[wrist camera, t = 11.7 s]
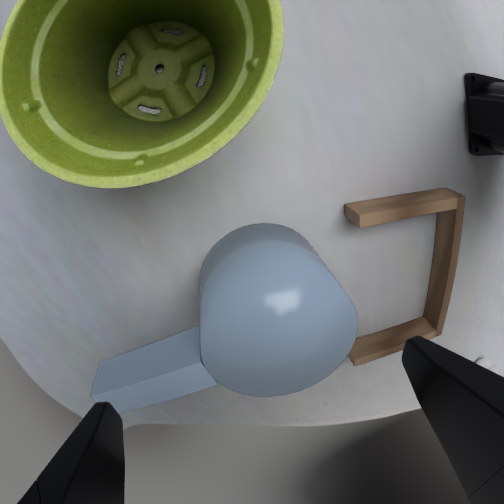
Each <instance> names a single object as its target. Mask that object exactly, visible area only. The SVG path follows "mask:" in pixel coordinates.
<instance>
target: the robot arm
mask: <svg viewBox="0 0 504 504" xmlns="http://www.w3.org/2000/svg"><path fill="white" fill-rule="evenodd" d="M465 79H466V89H467V100H468V116H469V150H470V153H471V154H472V155H475V156H483V155H504V80H502V79H498V78H494V77H489V76H485V75H480V74H476V73H467V74H466V76H465ZM471 79H472V81H471ZM402 363H403V366H404V368H405V371H406V373H407V375H408V378H409V380H410V382H411V385H412V387H413V390H414V392H415V394H416V397H417V399H418V401H419V404H420V405H421V407H422V409H423V411H424V413H425V415H426V417H427V418H428V420H429V422H430V424H431V426H432V428H433V430H434V432H435V434H436V435H437V437H438V439H439V441H440V443H441V445H442V447H443V449H444V451H445V453H446V455H447V457H448V459H449V461H450V463H451V465H452V467H453V469H454V471H455V473H456V475H457V478H458V480H459V482H460V484H461V486H462V488H463V490H464V492H465V495H466V497H467V499H468V502H469V504H504V377H503V376H501V375H499V374H497V373H495V372H493V371H491V370H488V369H486V368H484V367H482V366H480V365H478V364H476V363H474V362H472V361H470V360H468V359H466V358H464V357H462V356H460V355H458V354H456V353H454V352H452V351H450V350H448V349H446V348H444V347H442V346H440V345H438V344H436V343H434V342H432V341H430V340H428V339H426V338H424V337H422V336H419V335H416V336H413V337H410V338H408V339H407V340H406V341H405V345H404V349H403V354H402ZM124 482H125V458H124V443H123V424H122V419H121V417H120V415H119V414H118V413H117V411H116V410H115V409H114V407H113V406H112V405H111V403H110V402H107V401H104V402H97V403H95V404H94V406H93V407H92V408H91V409H90V411H89V412H88V413H87V414H86V416H85V417H84V418H83V419H82V421H81V422H80V423H79V425H78V426H77V427H76V428H75V430H74V431H73V432H72V433H71V435H70V436H69V437H68V439H67V440H66V441H65V442H64V444H63V445H62V446H61V448H60V449H59V450H58V452H57V453H56V454H55V455H54V457H53V458H52V459H51V461H50V462H49V463H48V465H47V466H46V467H45V469H44V470H43V471H42V472H41V474H40V475H39V476H38V478H37V481H35V482H34V483H33V484H32V486H31V487H30V488H29V490H28V491H27V492H26V493H25V495H24V496H23V497H22V498H21V499H20V501H19V502H18V503H17V504H124V484H125V483H124Z"/></svg>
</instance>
